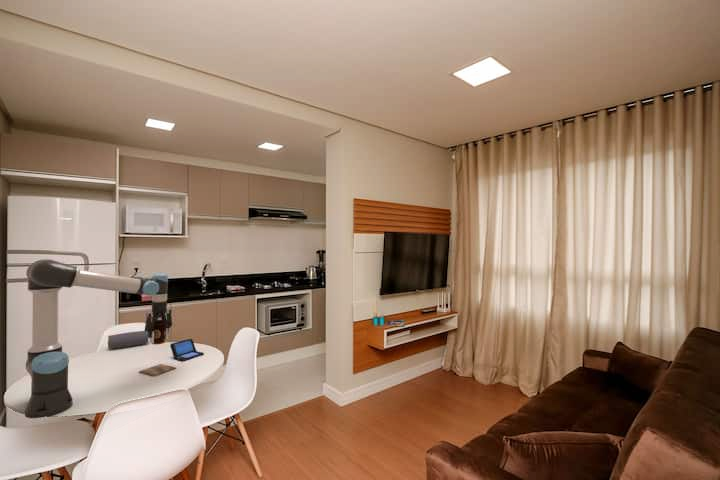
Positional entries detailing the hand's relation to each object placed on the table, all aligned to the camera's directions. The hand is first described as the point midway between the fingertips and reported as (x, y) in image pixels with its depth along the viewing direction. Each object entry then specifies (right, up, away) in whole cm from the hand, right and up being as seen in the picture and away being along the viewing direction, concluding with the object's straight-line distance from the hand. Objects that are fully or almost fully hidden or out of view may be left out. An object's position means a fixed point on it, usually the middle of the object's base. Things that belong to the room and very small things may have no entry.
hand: (158, 341), depth 189 cm
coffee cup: (0, -1, 0) cm, 1 cm away
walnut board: (0, -17, 0) cm, 17 cm away
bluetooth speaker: (-47, -17, +43) cm, 66 cm away
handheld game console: (+4, -18, +24) cm, 30 cm away
